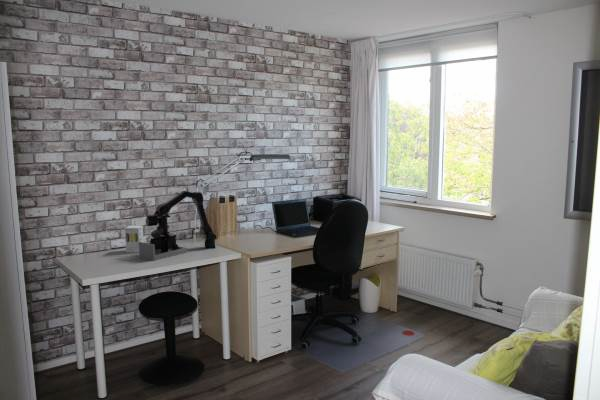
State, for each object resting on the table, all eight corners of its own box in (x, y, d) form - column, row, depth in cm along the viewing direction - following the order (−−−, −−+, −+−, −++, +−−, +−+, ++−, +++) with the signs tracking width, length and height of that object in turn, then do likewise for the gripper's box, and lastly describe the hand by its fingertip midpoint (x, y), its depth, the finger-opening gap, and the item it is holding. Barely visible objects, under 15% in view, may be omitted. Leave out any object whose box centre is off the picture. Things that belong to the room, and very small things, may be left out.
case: (172, 249, 335) (172, 235, 333) (187, 252, 326) (186, 237, 325) (139, 257, 313) (138, 242, 312) (153, 260, 305) (152, 244, 304)
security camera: (180, 250, 324) (179, 235, 323) (154, 255, 312) (153, 239, 310) (175, 248, 329) (174, 233, 328) (149, 253, 317) (148, 238, 315)
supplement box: (125, 252, 327) (124, 227, 325) (130, 249, 337) (128, 225, 334) (140, 252, 327) (138, 227, 325) (144, 249, 336) (143, 225, 334)
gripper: (143, 225, 317) (145, 249, 319) (162, 228, 306) (163, 252, 308) (157, 222, 326) (159, 245, 328) (176, 225, 315) (177, 249, 317)
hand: (164, 248), depth 320 cm, fingers closed on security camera, 7 cm apart
